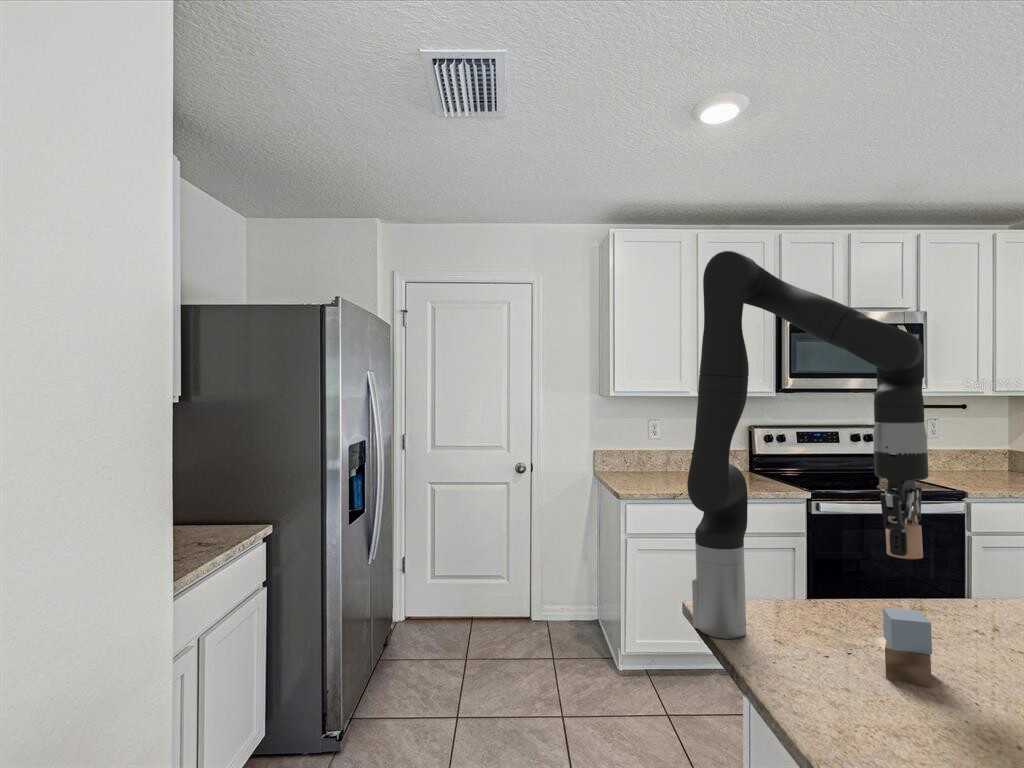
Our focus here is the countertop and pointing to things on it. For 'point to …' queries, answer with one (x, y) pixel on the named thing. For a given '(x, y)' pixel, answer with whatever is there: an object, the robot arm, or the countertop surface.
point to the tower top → (907, 630)
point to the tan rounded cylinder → (909, 542)
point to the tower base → (908, 667)
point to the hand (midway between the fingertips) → (903, 551)
